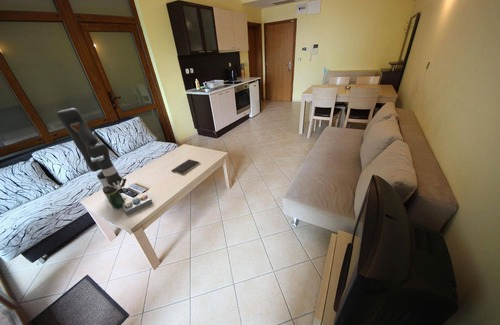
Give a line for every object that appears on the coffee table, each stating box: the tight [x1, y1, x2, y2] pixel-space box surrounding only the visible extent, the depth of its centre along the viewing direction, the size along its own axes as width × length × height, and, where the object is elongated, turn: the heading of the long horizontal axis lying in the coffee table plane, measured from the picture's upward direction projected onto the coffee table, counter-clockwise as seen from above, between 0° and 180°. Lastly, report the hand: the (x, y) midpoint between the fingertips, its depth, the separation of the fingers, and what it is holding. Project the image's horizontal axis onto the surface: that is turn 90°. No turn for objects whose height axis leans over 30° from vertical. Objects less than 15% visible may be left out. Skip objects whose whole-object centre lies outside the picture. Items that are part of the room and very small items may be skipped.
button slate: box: [132, 196, 140, 204], centre depth 146 cm, size 4×4×4 cm
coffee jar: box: [102, 185, 126, 210], centre depth 145 cm, size 10×8×19 cm
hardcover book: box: [171, 158, 200, 176], centre depth 191 cm, size 16×23×2 cm
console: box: [122, 192, 153, 217], centre depth 147 cm, size 12×18×4 cm, turn 131°
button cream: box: [124, 200, 132, 208], centre depth 143 cm, size 4×4×4 cm
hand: (121, 192), depth 137 cm, fingers closed
